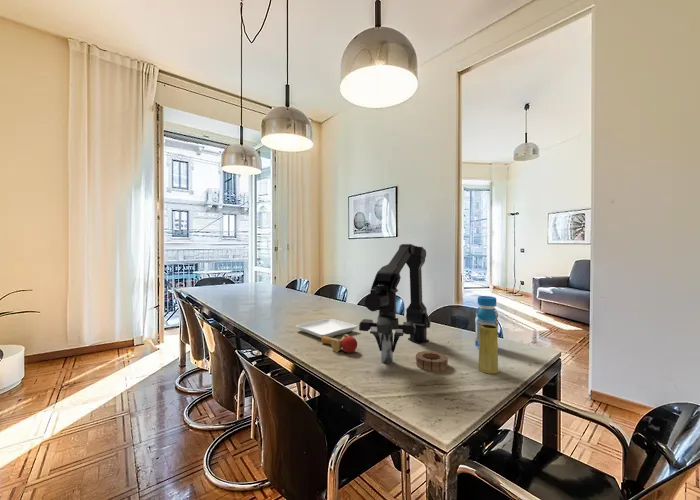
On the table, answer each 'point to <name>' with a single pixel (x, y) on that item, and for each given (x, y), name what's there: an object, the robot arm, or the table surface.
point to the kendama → (341, 343)
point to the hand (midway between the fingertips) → (387, 351)
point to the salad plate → (326, 327)
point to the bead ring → (431, 361)
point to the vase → (488, 349)
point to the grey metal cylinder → (387, 348)
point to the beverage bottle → (485, 314)
